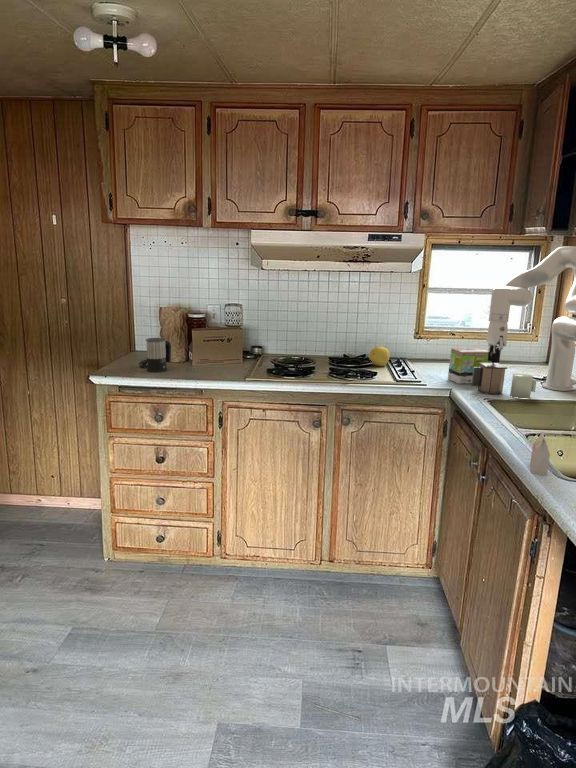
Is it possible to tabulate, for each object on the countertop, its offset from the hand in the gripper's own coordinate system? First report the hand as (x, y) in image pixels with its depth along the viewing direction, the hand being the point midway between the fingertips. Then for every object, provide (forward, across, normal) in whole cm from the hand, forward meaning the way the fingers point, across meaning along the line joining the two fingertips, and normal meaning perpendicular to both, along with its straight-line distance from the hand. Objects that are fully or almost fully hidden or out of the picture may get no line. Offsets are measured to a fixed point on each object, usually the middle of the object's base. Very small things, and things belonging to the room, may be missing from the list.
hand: (493, 361), depth 221 cm
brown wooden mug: (+13, 0, +1) cm, 13 cm away
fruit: (+13, +49, +39) cm, 64 cm away
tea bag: (+14, -84, +18) cm, 87 cm away
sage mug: (+13, -7, -10) cm, 18 cm away
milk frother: (+14, +28, +150) cm, 153 cm away
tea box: (+14, +19, +3) cm, 24 cm away
